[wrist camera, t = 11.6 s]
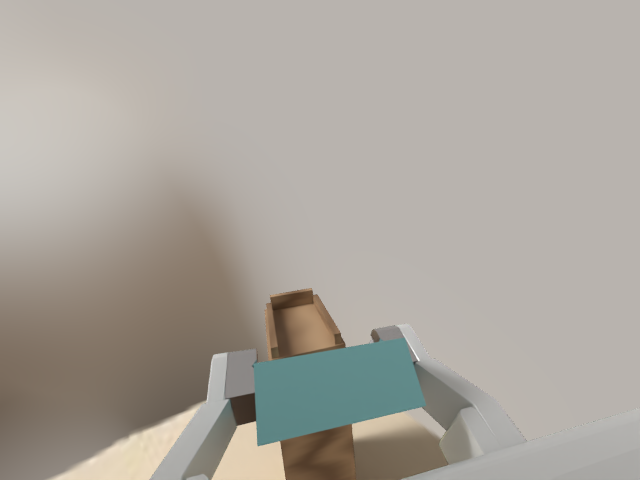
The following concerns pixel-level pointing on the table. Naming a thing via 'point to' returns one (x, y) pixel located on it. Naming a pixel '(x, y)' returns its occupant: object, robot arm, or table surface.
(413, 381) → the teal rectangular bar
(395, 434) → the table surface
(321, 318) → the walnut stand
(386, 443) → the table surface
